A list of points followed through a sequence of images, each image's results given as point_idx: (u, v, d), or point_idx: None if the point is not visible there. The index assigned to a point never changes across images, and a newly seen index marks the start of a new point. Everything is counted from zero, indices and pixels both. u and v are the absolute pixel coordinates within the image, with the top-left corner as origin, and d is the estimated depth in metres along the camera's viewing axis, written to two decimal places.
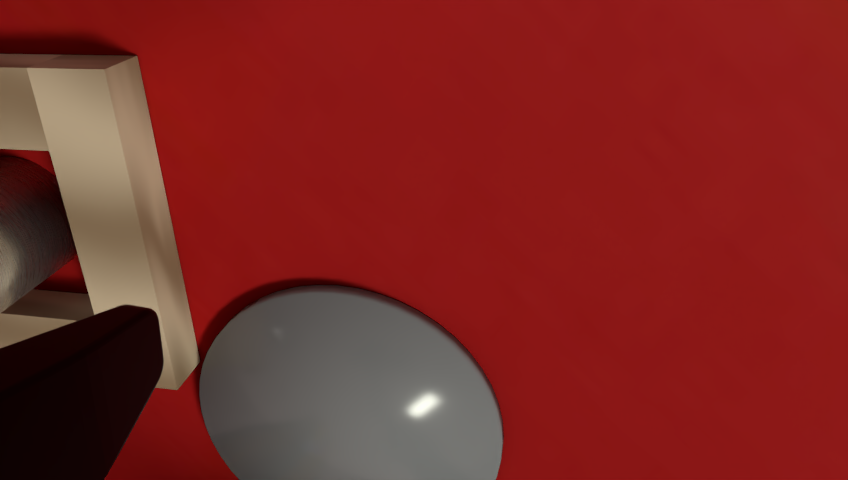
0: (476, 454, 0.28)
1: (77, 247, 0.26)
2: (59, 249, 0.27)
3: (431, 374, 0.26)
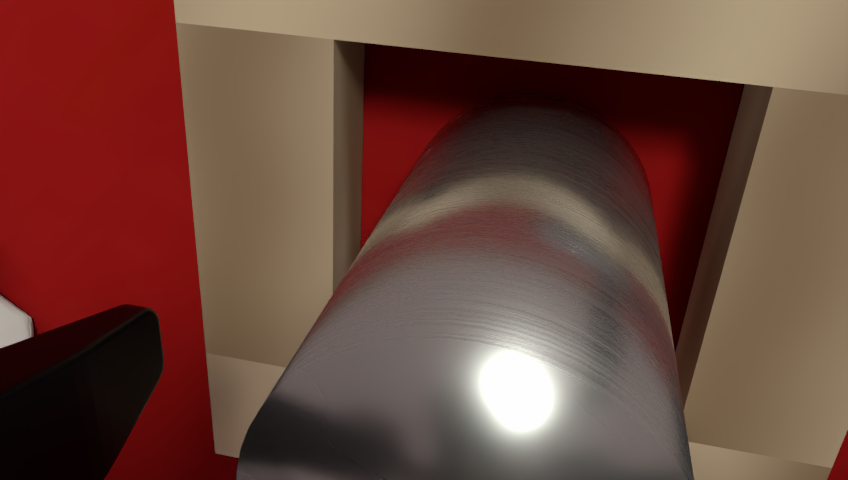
0: None
1: (558, 59, 0.11)
2: (574, 127, 0.12)
3: None
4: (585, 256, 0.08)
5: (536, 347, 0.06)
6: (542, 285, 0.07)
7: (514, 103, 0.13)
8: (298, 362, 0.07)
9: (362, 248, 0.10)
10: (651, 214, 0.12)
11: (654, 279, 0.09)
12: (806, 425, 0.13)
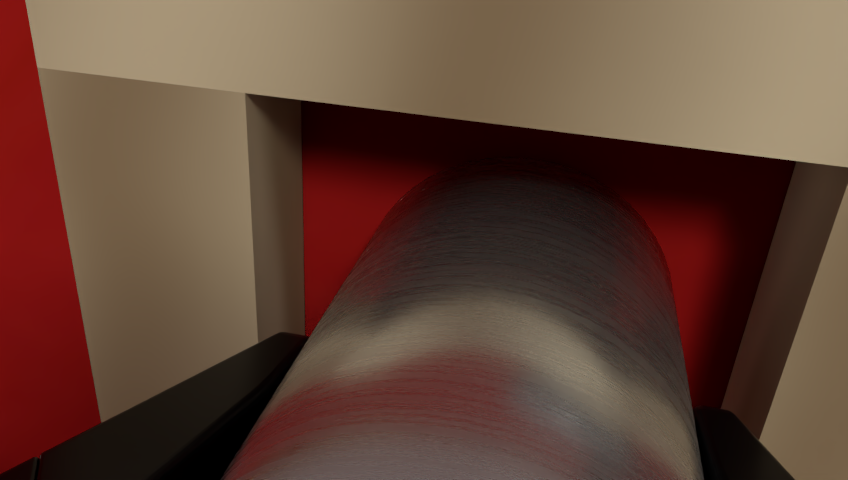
0: None
1: (550, 125, 0.08)
2: (572, 211, 0.09)
3: None
4: None
5: None
6: None
7: (493, 172, 0.10)
8: None
9: (262, 412, 0.07)
10: (676, 332, 0.09)
11: (690, 474, 0.06)
12: None
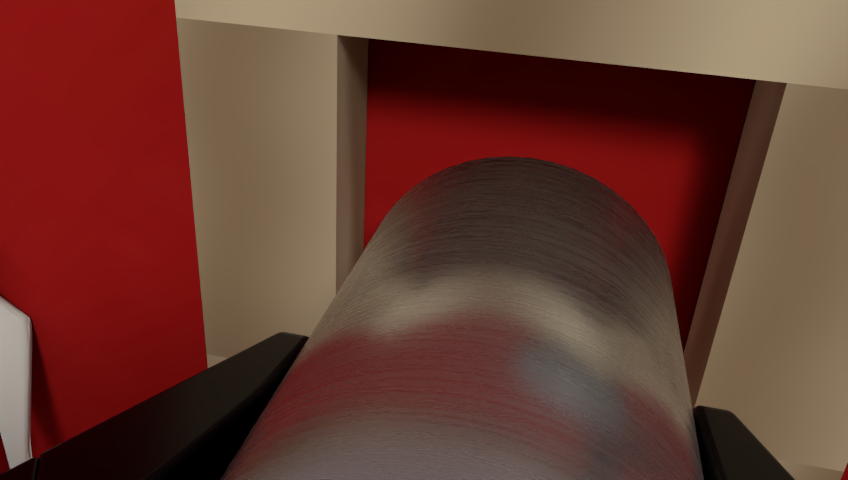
0: None
1: (567, 55, 0.11)
2: (572, 210, 0.09)
3: None
4: (587, 479, 0.05)
5: None
6: None
7: (493, 172, 0.10)
8: None
9: (263, 411, 0.07)
10: (676, 331, 0.09)
11: (689, 473, 0.06)
12: (818, 428, 0.13)
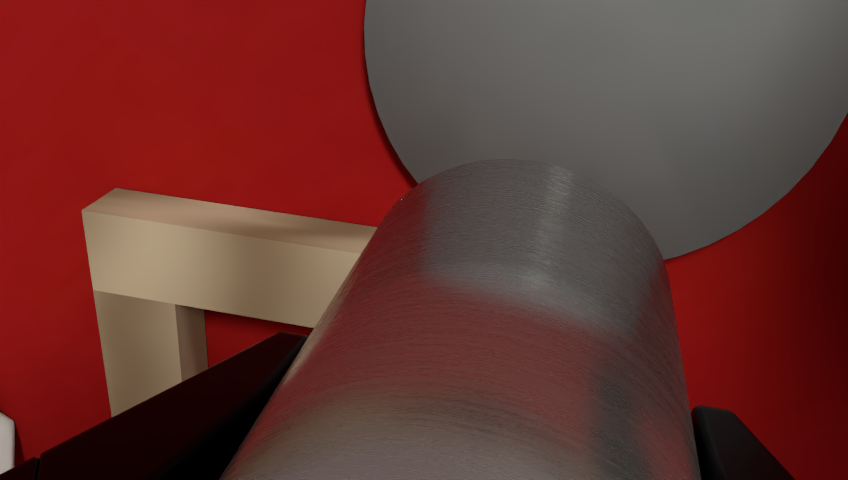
0: None
1: (285, 321, 0.22)
2: (570, 213, 0.09)
3: None
4: None
5: None
6: None
7: (491, 174, 0.10)
8: None
9: (259, 415, 0.07)
10: (674, 334, 0.09)
11: (687, 478, 0.06)
12: None
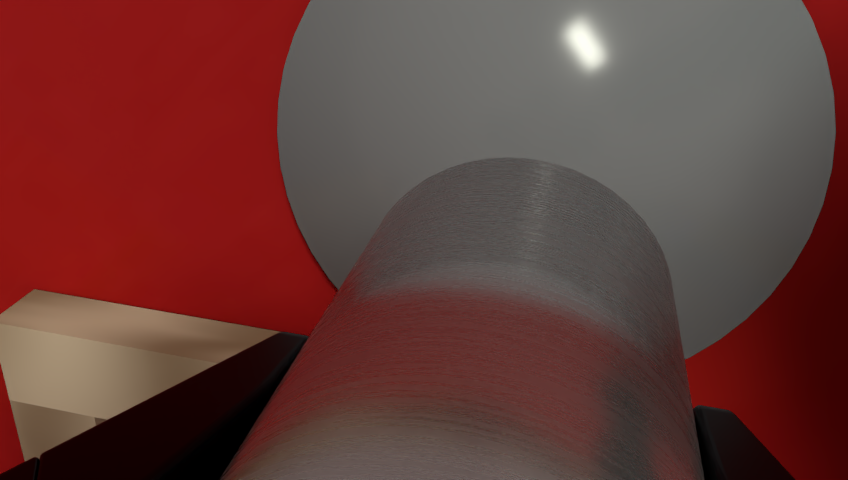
0: None
1: None
2: (572, 211, 0.09)
3: None
4: None
5: None
6: None
7: (492, 173, 0.10)
8: None
9: (260, 414, 0.07)
10: (677, 333, 0.09)
11: (691, 477, 0.06)
12: None
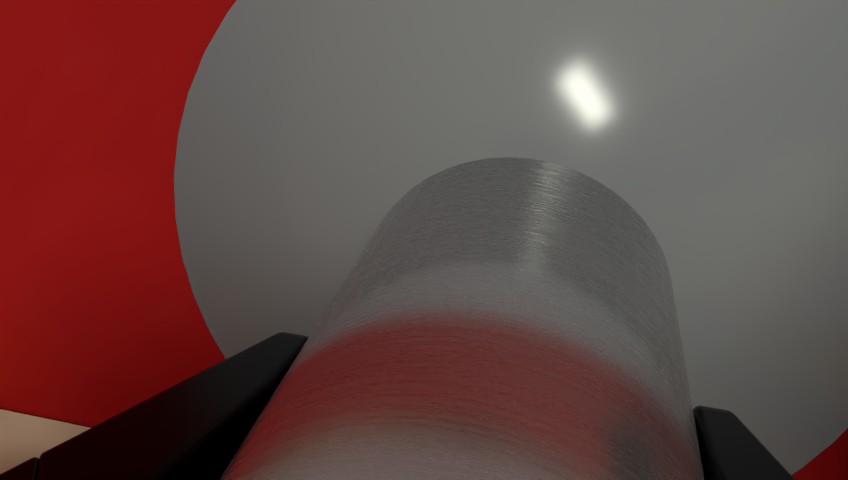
0: None
1: None
2: (572, 211, 0.09)
3: (339, 34, 0.11)
4: None
5: None
6: None
7: (492, 172, 0.10)
8: None
9: (261, 414, 0.07)
10: (677, 333, 0.09)
11: (690, 477, 0.06)
12: None
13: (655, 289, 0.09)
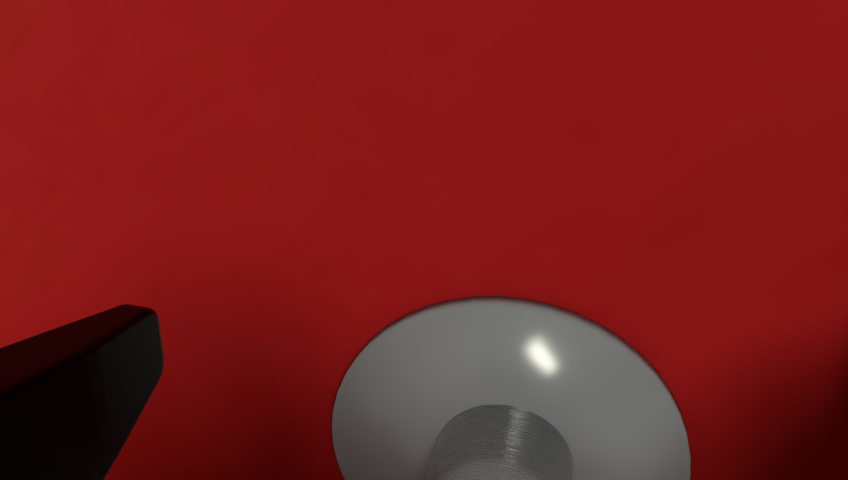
0: (534, 337, 0.23)
1: None
2: (526, 440, 0.23)
3: (420, 360, 0.24)
4: None
5: None
6: None
7: (495, 415, 0.24)
8: None
9: None
10: None
11: None
12: None
13: (557, 472, 0.22)
